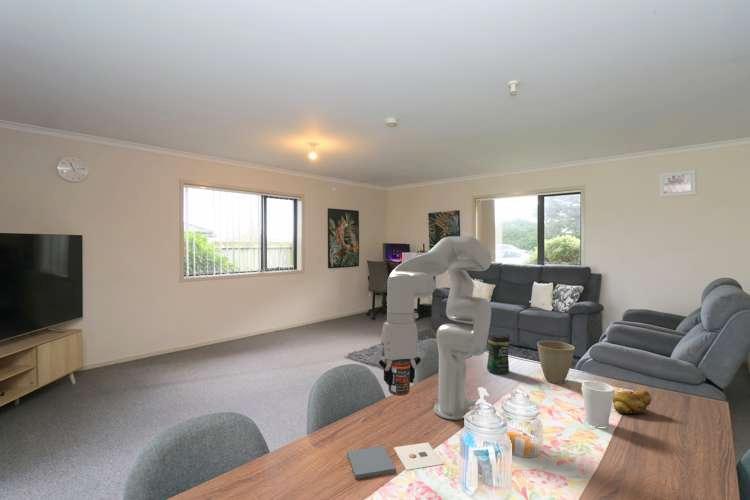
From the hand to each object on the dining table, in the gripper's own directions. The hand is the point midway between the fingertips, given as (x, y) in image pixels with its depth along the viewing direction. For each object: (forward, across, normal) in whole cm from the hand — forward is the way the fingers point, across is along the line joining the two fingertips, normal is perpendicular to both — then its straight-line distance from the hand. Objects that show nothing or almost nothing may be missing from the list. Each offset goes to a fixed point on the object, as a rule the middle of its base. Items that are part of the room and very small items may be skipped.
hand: (399, 381), depth 102 cm
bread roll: (+21, -92, -6) cm, 95 cm away
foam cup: (+21, -72, -1) cm, 75 cm away
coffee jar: (+21, -70, -53) cm, 91 cm away
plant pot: (+21, -88, -36) cm, 98 cm away
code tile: (+22, -6, 0) cm, 23 cm away
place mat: (+22, +8, 0) cm, 23 cm away
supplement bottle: (+3, 0, 0) cm, 3 cm away
